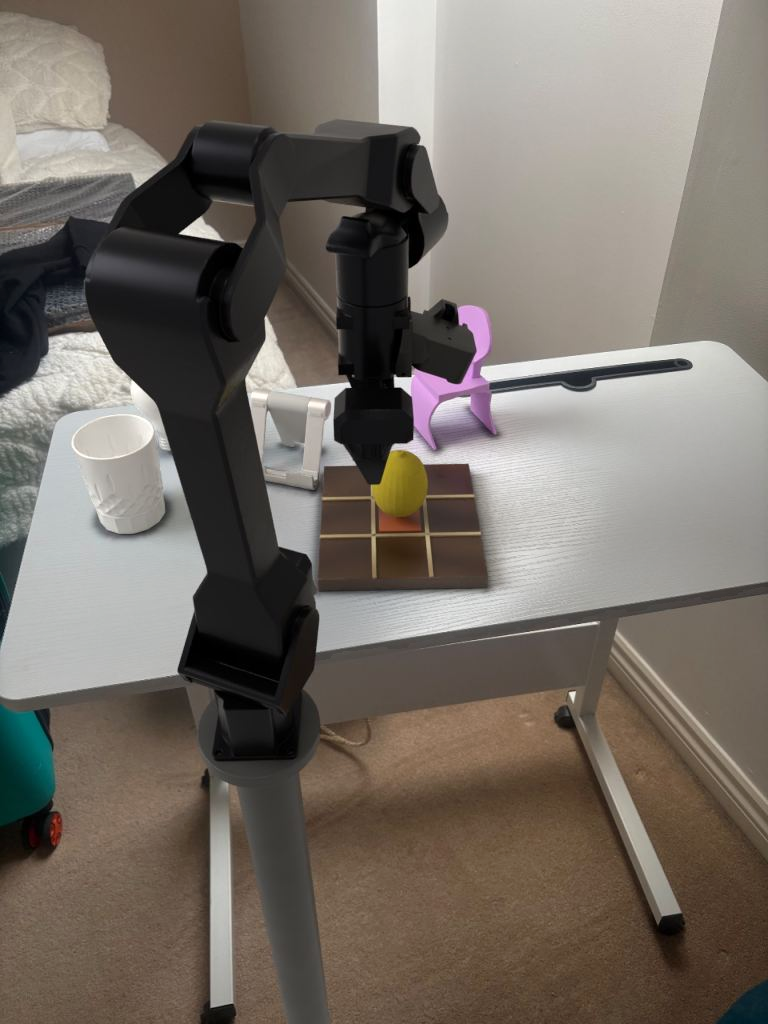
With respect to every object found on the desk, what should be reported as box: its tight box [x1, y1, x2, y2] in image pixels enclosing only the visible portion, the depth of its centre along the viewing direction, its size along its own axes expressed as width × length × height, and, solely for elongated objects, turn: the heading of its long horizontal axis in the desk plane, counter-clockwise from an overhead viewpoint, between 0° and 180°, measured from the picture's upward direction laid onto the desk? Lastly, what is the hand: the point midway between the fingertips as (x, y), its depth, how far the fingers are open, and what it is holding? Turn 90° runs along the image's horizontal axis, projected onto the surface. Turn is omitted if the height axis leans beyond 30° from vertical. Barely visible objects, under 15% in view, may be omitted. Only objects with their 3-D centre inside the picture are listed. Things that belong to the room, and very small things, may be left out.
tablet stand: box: [249, 387, 332, 491], centre depth 91 cm, size 9×8×8 cm
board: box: [317, 463, 489, 592], centre depth 85 cm, size 18×16×2 cm
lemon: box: [372, 449, 428, 517], centre depth 82 cm, size 6×6×8 cm
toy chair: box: [410, 304, 498, 451], centre depth 95 cm, size 8×9×15 cm
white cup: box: [70, 413, 166, 535], centre depth 84 cm, size 8×8×10 cm
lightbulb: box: [129, 379, 171, 452], centre depth 93 cm, size 6×6×11 cm
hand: (373, 453), depth 76 cm, fingers open, 9 cm apart
